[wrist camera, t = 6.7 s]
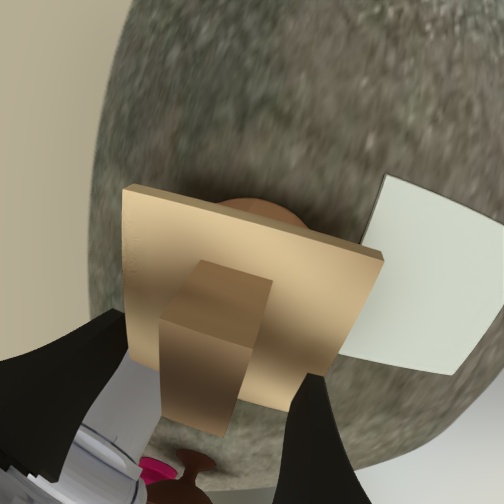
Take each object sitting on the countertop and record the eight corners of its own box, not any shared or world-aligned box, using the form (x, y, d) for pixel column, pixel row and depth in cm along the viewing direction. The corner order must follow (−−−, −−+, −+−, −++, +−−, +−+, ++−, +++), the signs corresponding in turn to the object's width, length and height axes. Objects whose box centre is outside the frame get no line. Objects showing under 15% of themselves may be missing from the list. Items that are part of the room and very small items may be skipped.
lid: (301, 403, 15) (291, 470, 12) (136, 350, 16) (99, 404, 12) (380, 251, 11) (406, 328, 7) (133, 183, 11) (59, 224, 8)
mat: (451, 371, 18) (452, 375, 18) (315, 343, 19) (315, 347, 19) (532, 241, 12) (535, 243, 12) (385, 173, 13) (386, 175, 13)
